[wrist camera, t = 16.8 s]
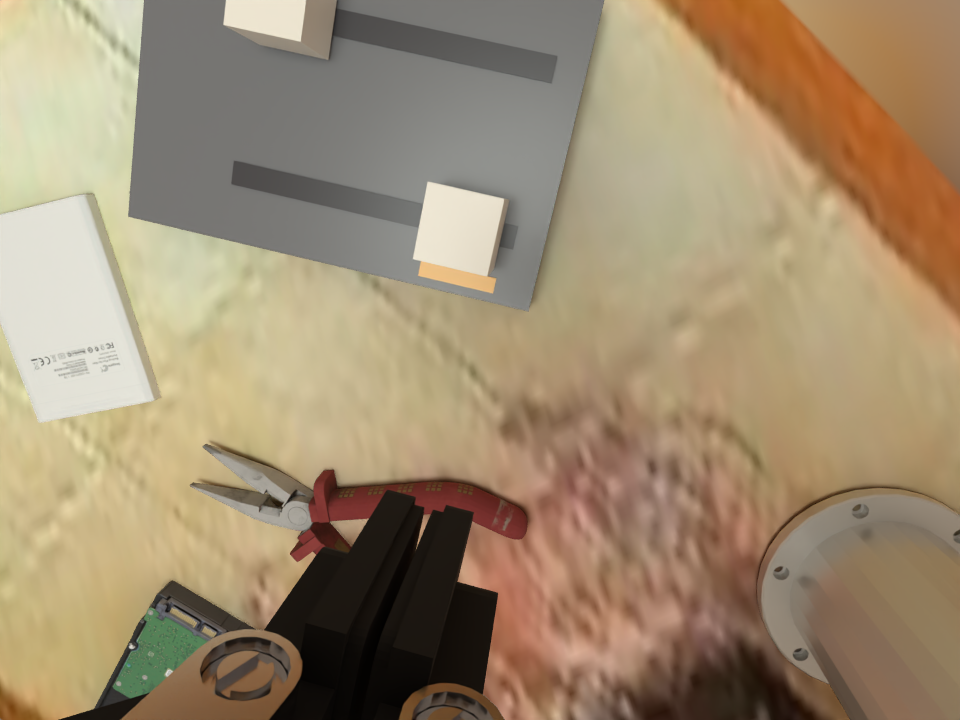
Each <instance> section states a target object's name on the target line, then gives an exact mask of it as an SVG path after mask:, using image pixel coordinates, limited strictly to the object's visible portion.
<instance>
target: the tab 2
mask: <svg viewBox="0 0 960 720" xmlns="http://www.w3.org/2000/svg"><path fill="white" fill-rule="evenodd" d="M508 204H509V200H508V199H504V198H499V197H495V196H491V195H486V194H482V193H477V192H473V191H469V190H464V189H460V188H456V187H451V186H447V185H442V184H438V183H433V182H427V187H426V193H425V198H424V203H423V208H422V214H421V219H420V224H419V229H418V235H417V240H416V245H415V250H414V255H413V259H414V260H419V261H423V262H427V263H431V264H436V265H440V266H444V267H448V268H453V269H457V270H461V271H465V272H470V273H474V274H478V275H482V276H488V275H489V274H490V273H491V272H492V271H493V270H494V266H495V262H496V257H497V253H498V248H499V244H500V240H501V235H502V231H503V226H504V222H505V217H506V213H507V208H508Z"/></svg>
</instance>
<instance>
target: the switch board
mask: <svg viewBox="0 0 960 720" xmlns="http://www.w3.org/2000/svg"><path fill="white" fill-rule="evenodd" d="M603 4H604V0H337V3H336V10H335V17H334V24H333V31H332V38H331V45H330V51H329V58H328V60H326V59H322V58H317V57H312V56H308V55H303V54H299V53H294V52H290V51H285V50H281V49H276V48H272V47H267V46H262V45H259V44H257V43H255V42H253V41H252V40H250V39H248V38H246V37H244V36H243V35H241V34H239V33H237V32H235V31H234V30H232V29H230V28H228V27H226V26H225V25H223V24H224V14H225V5H226V0H144V10H143V23H142V37H141V50H140V64H139V78H138V91H137V105H136V118H135V132H134V145H133V159H132V173H131V186H130V200H129V213H128V217H132V218H136V219H141V220H145V221H149V222H153V223H157V224H162V225H166V226H170V227H174V228H179V229H183V230H187V231H191V232H195V233H200V234H204V235H208V236H212V237H216V238H221V239H225V240H229V241H233V242H238V243H242V244H246V245H250V246H254V247H259V248H263V249H267V250H271V251H275V252H280V253H284V254H288V255H292V256H297V257H301V258H305V259H309V260H313V261H318V262H322V263H326V264H330V265H335V266H339V267H343V268H347V269H351V270H356V271H360V272H364V273H368V274H372V275H377V276H381V277H385V278H389V279H394V280H398V281H402V282H406V283H410V284H415V285H419V286H423V287H427V288H431V289H436V290H440V291H444V292H448V293H453V294H457V295H461V296H465V297H469V298H474V299H478V300H482V301H486V302H491V303H495V304H499V305H503V306H507V307H512V308H516V309H520V310H524V311H528V312H529V307H530V303H531V299H532V295H533V291H534V287H535V283H536V279H537V275H538V271H539V266H540V262H541V258H542V254H543V250H544V246H545V242H546V238H547V234H548V229H549V225H550V221H551V217H552V213H553V209H554V205H555V201H556V197H557V193H558V188H559V184H560V180H561V176H562V172H563V168H564V164H565V160H566V156H567V151H568V147H569V143H570V139H571V135H572V131H573V127H574V123H575V119H576V115H577V110H578V106H579V102H580V98H581V94H582V90H583V86H584V82H585V78H586V73H587V69H588V65H589V61H590V57H591V53H592V49H593V45H594V41H595V37H596V32H597V28H598V24H599V20H600V16H601V12H602V8H603ZM427 182H433V183H438V184H442V185H447V186H451V187H456V188H460V189H464V190H469V191H473V192H477V193H482V194H486V195H491V196H495V197H499V198H504V199H508V200H509V204H508V208H507V213H506V217H505V222H504V226H503V231H502V235H501V240H500V244H499V248H498V253H497V257H496V262H495V266H494V270H493V271H492V272H491V273H490V274H489V275H488V276H482V275H478V274H474V273H470V272H465V271H461V270H457V269H453V268H448V267H444V266H440V265H436V264H431V263H427V262H423V261H419V260H414V259H413V255H414V250H415V245H416V240H417V235H418V229H419V224H420V219H421V214H422V208H423V203H424V198H425V193H426V187H427Z"/></svg>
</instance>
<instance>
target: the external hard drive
mask: <svg viewBox="0 0 960 720" xmlns="http://www.w3.org/2000/svg"><path fill="white" fill-rule="evenodd" d="M0 324H1V327H2V329H3V332H4V334H5V337H6V340H7V342H8V345H9V347H10V350H11V352H12V355H13V358H14V360H15V363H16V365H17V368H18V370H19V373H20V375H21V378H22V381H23V383H24V386H25V388H26V391H27V393H28V396H29V398H30V401H31V403H32V406H33V409H34V411H35V414H36V417H37V419H38V422H39V423H42V422H47V421H52V420H57V419H63V418H67V417H73V416H78V415H83V414H88V413H94V412H99V411H104V410H110V409H115V408H120V407H125V406H130V405H136V404H141V403H146V402H150V401H154V400H156V399H158V398H160V397H161V394H160V391H159V388H158V385H157V382H156V379H155V376H154V373H153V370H152V367H151V364H150V361H149V358H148V355H147V351H146V348H145V345H144V342H143V339H142V336H141V333H140V330H139V327H138V324H137V321H136V318H135V315H134V312H133V309H132V306H131V303H130V300H129V297H128V294H127V291H126V288H125V285H124V282H123V279H122V276H121V273H120V270H119V267H118V264H117V261H116V258H115V255H114V252H113V249H112V246H111V243H110V240H109V237H108V234H107V231H106V228H105V225H104V222H103V219H102V216H101V214H100V211H99V208H98V205H97V202H96V199H95V196H94V194H81V195H76V196H72V197H68V198H64V199H60V200H56V201H52V202H48V203H44V204H40V205H36V206H32V207H28V208H24V209H20V210H16V211H12V212H7V213H4V214H0Z"/></svg>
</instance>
